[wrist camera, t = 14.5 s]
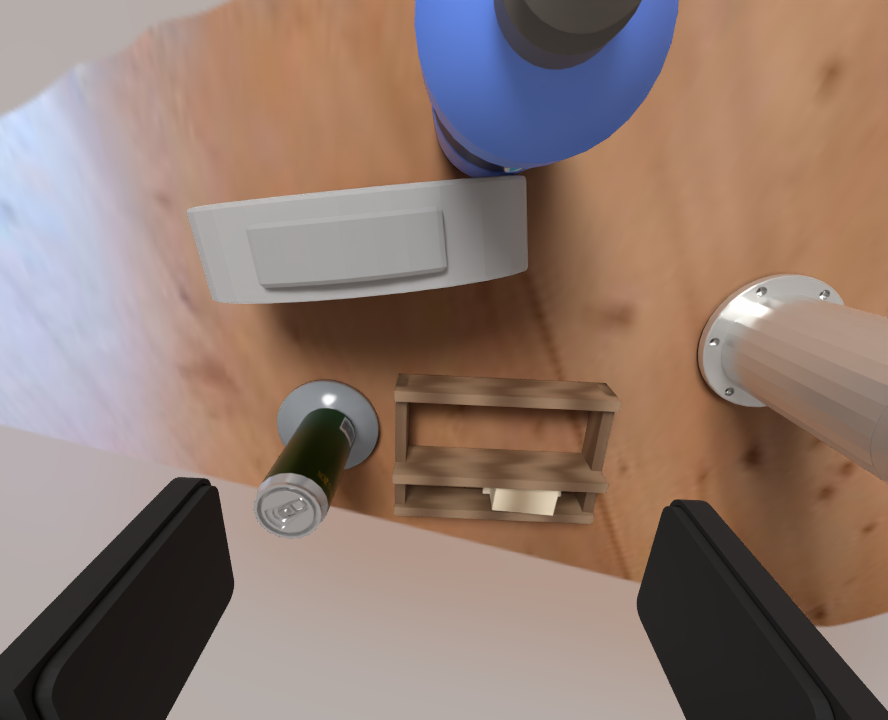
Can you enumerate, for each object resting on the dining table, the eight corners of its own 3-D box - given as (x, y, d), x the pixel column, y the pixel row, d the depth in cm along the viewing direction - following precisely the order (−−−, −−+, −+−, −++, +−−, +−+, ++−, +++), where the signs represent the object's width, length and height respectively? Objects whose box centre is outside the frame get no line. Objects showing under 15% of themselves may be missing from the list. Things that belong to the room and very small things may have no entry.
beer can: (335, 394, 40) (293, 469, 29) (367, 436, 42) (339, 522, 31) (291, 420, 41) (234, 502, 30) (324, 460, 43) (282, 551, 32)
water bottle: (411, 83, 32) (314, -237, 9) (526, 19, 30) (789, -577, 7) (462, 202, 35) (491, 207, 12) (568, 149, 33) (851, 32, 10)
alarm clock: (512, 179, 34) (546, 167, 22) (514, 255, 36) (547, 283, 25) (235, 206, 35) (127, 210, 23) (254, 280, 37) (163, 318, 25)
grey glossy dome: (378, 382, 41) (377, 385, 40) (379, 468, 44) (378, 473, 44) (275, 377, 41) (272, 380, 40) (284, 464, 44) (281, 468, 43)
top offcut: (553, 475, 42) (559, 490, 40) (547, 499, 43) (552, 515, 41) (494, 469, 42) (496, 484, 40) (489, 493, 43) (491, 510, 41)
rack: (605, 383, 41) (626, 407, 36) (581, 500, 46) (597, 535, 41) (399, 373, 40) (393, 396, 36) (398, 492, 45) (392, 526, 41)
